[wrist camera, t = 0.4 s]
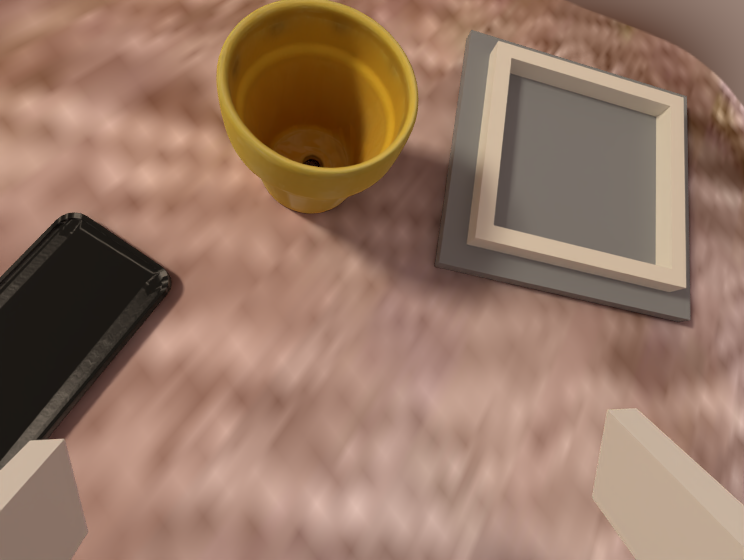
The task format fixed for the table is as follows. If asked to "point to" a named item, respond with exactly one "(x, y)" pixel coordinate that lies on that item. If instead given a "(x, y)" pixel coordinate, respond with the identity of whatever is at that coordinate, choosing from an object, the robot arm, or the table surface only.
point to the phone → (66, 322)
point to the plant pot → (315, 100)
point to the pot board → (568, 181)
